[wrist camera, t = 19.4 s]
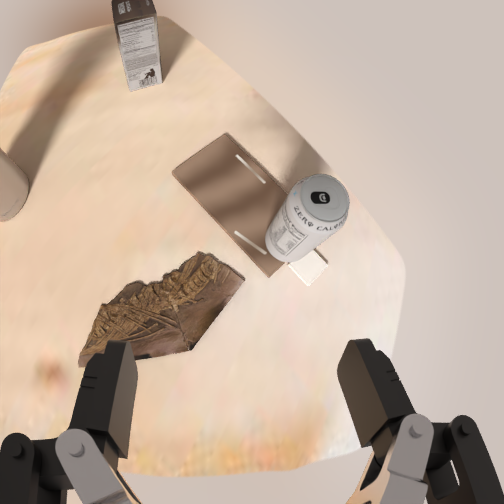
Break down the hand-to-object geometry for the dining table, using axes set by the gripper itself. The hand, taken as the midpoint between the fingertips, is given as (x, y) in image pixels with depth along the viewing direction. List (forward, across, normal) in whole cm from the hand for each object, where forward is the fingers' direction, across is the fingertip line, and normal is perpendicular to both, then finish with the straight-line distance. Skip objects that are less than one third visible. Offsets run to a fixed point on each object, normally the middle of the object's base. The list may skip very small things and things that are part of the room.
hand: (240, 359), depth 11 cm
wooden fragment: (+22, +8, +19) cm, 30 cm away
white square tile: (+27, -12, +14) cm, 33 cm away
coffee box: (+52, +15, -11) cm, 55 cm away
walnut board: (+33, -4, +7) cm, 34 cm away
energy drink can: (+28, -9, +11) cm, 32 cm away
